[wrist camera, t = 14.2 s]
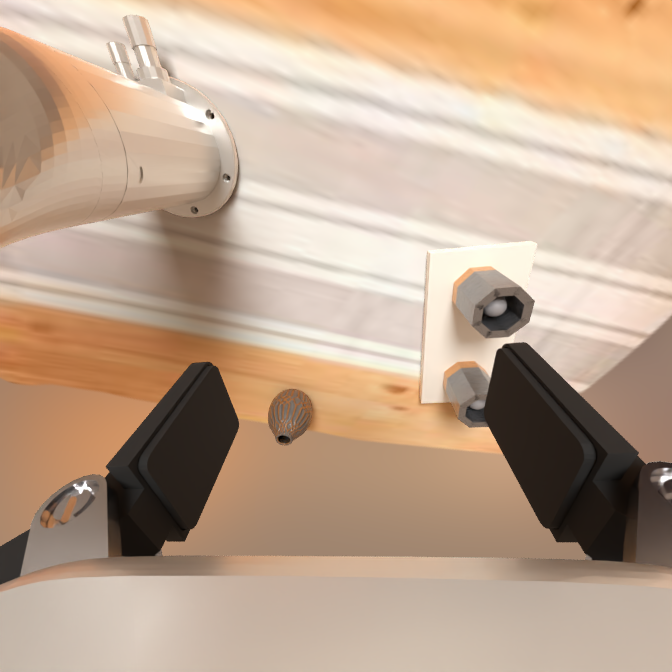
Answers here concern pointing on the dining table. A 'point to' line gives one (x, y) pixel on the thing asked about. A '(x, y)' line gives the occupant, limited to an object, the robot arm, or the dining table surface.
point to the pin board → (450, 324)
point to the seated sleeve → (467, 391)
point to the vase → (289, 415)
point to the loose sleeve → (484, 288)
